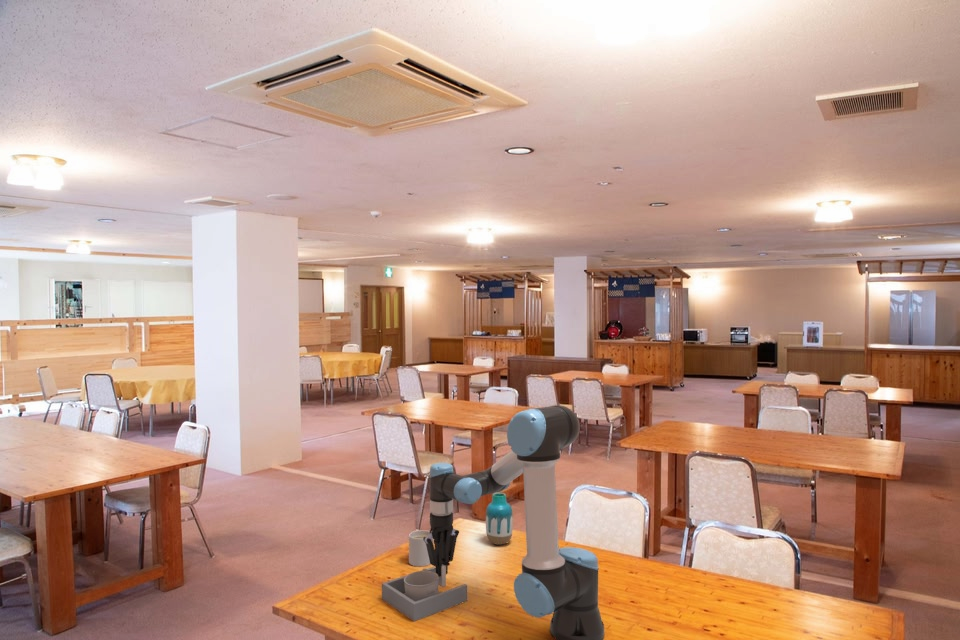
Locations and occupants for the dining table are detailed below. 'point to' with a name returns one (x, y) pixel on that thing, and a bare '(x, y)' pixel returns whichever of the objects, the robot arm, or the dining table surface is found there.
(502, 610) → the dining table surface
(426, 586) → the teacup
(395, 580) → the box
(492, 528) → the vase
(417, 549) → the mug
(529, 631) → the dining table surface
